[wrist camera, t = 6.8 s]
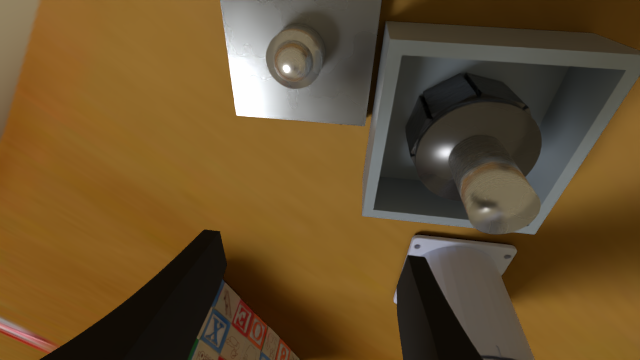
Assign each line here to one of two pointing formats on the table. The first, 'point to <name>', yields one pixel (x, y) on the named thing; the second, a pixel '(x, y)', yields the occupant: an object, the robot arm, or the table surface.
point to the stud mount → (302, 58)
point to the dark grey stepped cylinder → (477, 150)
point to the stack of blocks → (236, 333)
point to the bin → (520, 76)
